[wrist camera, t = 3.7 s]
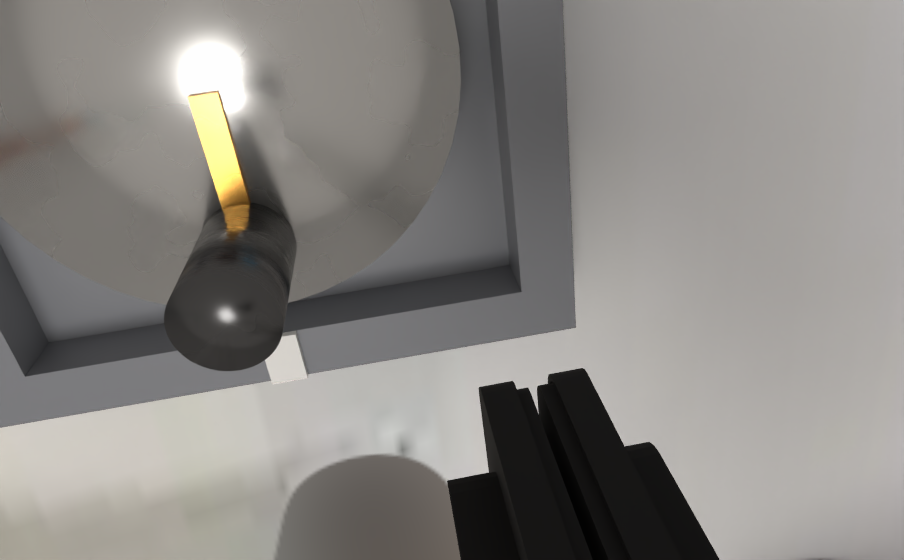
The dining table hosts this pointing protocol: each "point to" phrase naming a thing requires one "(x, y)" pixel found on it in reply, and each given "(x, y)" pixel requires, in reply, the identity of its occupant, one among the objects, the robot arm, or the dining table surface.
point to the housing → (370, 290)
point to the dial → (223, 148)
